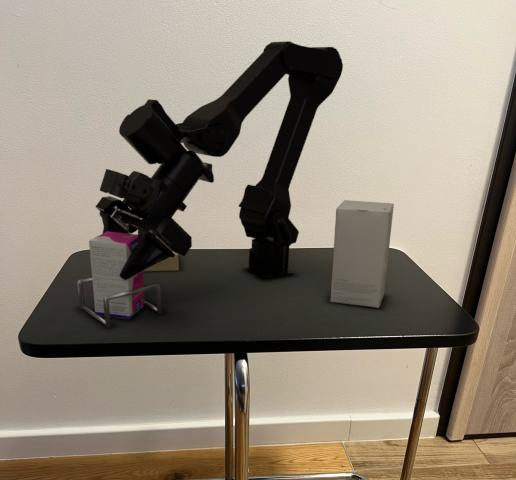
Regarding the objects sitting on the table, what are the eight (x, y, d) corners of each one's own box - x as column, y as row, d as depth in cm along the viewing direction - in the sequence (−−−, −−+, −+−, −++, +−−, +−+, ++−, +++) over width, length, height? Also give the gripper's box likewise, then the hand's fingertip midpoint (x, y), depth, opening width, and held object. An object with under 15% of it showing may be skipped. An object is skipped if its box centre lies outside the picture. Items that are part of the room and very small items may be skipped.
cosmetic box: (384, 296, 91) (397, 203, 84) (378, 310, 86) (392, 211, 79) (335, 289, 94) (344, 198, 87) (327, 302, 88) (335, 206, 81)
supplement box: (131, 320, 79) (125, 243, 74) (94, 315, 81) (85, 240, 75) (147, 305, 85) (142, 233, 80) (111, 301, 86) (104, 230, 81)
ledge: (177, 257, 108) (176, 242, 106) (178, 270, 100) (178, 254, 99) (114, 259, 106) (113, 244, 104) (112, 272, 98) (110, 256, 97)
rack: (132, 295, 88) (130, 268, 86) (162, 313, 82) (161, 284, 80) (79, 308, 83) (76, 280, 81) (107, 328, 77) (104, 297, 75)
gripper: (101, 140, 81) (39, 224, 79) (170, 155, 68) (97, 254, 67) (150, 189, 89) (95, 266, 87) (219, 210, 76) (156, 300, 75)
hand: (108, 270), depth 79 cm, fingers closed on supplement box, 7 cm apart
